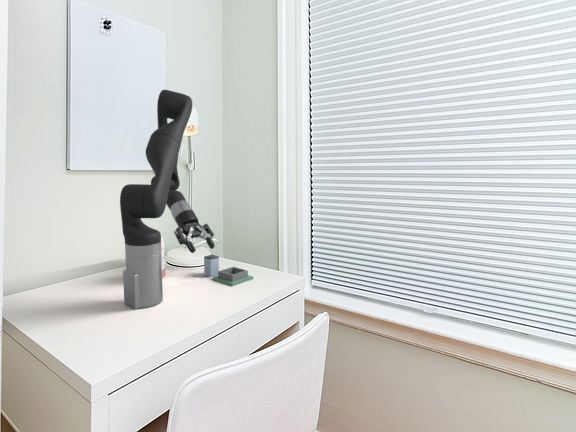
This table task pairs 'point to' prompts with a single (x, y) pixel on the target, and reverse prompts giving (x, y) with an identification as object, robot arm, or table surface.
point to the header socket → (232, 276)
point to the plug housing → (211, 265)
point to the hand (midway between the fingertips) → (203, 249)
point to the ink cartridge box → (162, 257)
